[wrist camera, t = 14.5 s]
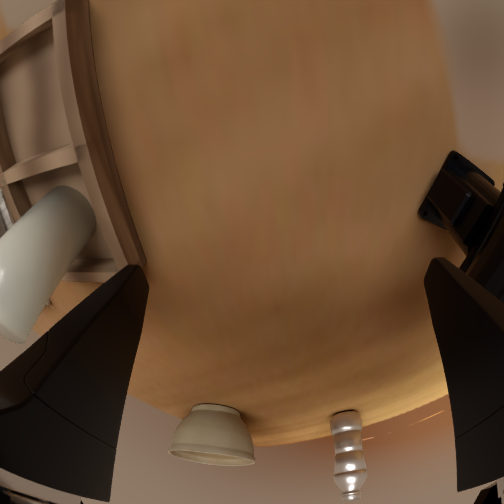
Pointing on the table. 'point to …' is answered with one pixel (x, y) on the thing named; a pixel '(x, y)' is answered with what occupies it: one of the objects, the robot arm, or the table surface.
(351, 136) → the table surface
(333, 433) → the plastic bottle
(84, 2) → the divided tray
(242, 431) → the planter bowl
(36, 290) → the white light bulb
